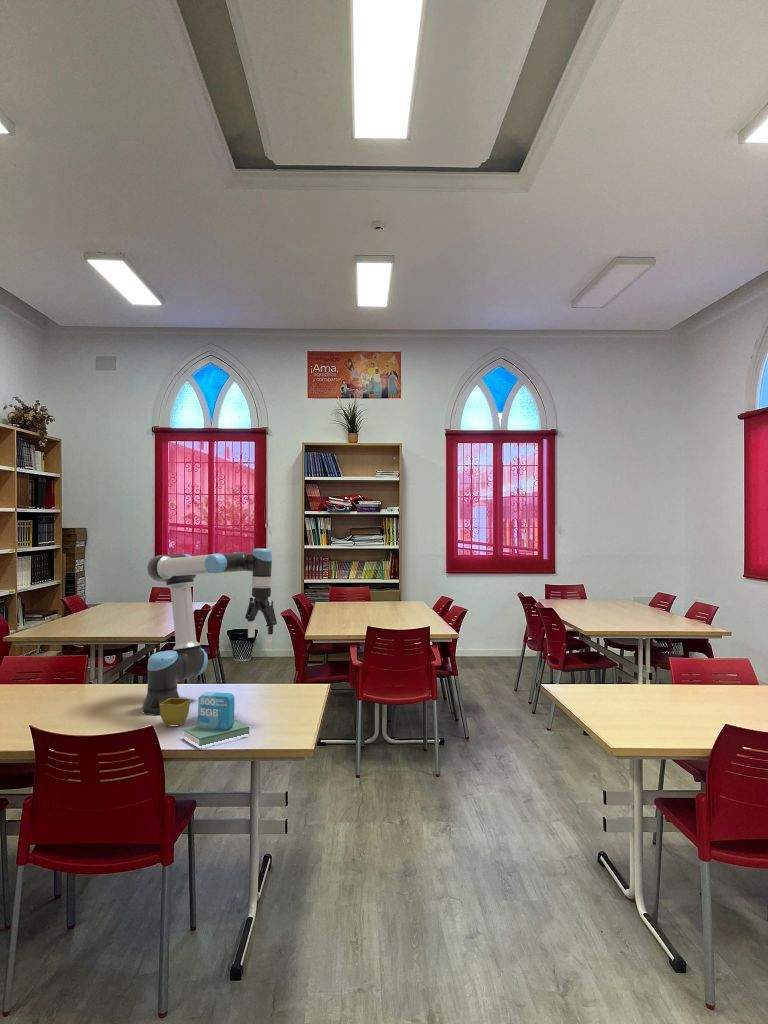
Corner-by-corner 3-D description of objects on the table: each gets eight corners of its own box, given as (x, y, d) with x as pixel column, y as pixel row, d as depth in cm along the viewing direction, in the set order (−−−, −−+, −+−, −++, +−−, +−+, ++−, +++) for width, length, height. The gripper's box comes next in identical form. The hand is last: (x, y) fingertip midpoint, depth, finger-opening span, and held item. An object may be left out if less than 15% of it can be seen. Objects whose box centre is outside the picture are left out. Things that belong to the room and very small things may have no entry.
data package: (197, 728, 217) (198, 694, 218) (203, 724, 222) (203, 691, 222) (229, 730, 215) (229, 696, 216) (234, 726, 220) (234, 693, 220)
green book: (182, 739, 217) (182, 728, 217) (230, 728, 230) (230, 717, 230) (199, 750, 207) (199, 738, 207) (249, 737, 219) (249, 726, 220)
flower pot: (158, 727, 229) (158, 703, 229) (169, 720, 238) (169, 697, 238) (180, 729, 228) (180, 704, 228) (190, 721, 237) (191, 698, 237)
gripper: (286, 589, 237) (285, 643, 237) (253, 583, 256) (252, 634, 255) (270, 590, 232) (268, 645, 232) (237, 584, 251) (236, 636, 250)
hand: (259, 639), depth 243 cm, fingers open, 13 cm apart
